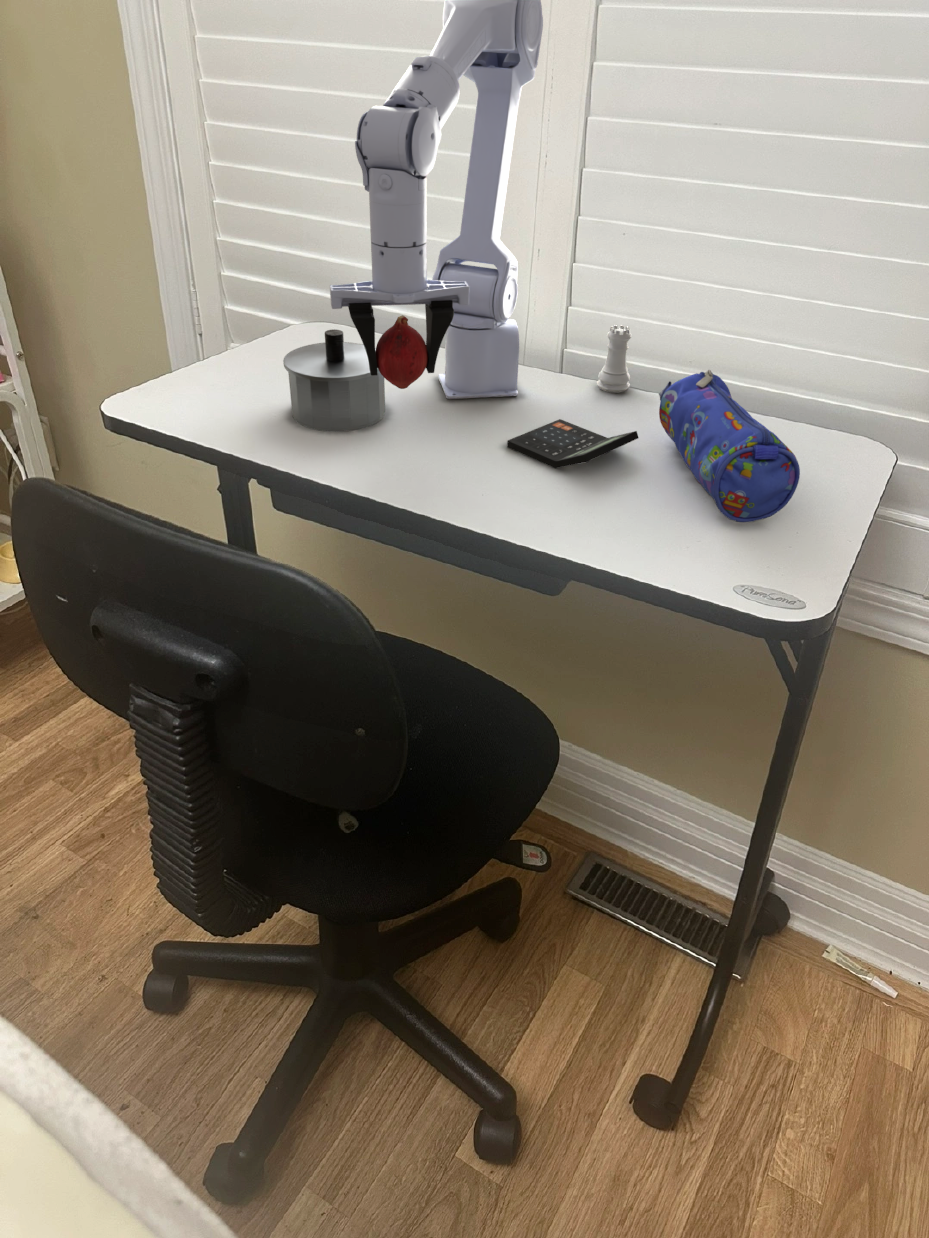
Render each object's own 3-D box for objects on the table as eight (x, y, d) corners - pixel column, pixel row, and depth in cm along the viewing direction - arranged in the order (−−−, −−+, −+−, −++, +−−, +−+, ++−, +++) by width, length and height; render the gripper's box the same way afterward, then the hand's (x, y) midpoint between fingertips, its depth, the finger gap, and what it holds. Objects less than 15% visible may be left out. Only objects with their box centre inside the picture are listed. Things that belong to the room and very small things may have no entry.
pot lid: (382, 348, 115) (381, 314, 112) (392, 384, 105) (391, 348, 102) (283, 352, 113) (280, 317, 110) (284, 388, 103) (280, 351, 101)
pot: (380, 394, 118) (378, 345, 114) (389, 429, 109) (387, 378, 105) (291, 397, 116) (287, 348, 112) (293, 434, 107) (288, 382, 103)
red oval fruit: (421, 400, 98) (420, 327, 94) (370, 395, 99) (367, 322, 94) (433, 382, 103) (433, 311, 98) (384, 377, 104) (382, 306, 99)
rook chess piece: (635, 385, 122) (643, 326, 117) (621, 396, 119) (629, 335, 114) (605, 378, 124) (611, 320, 119) (590, 388, 121) (597, 329, 116)
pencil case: (649, 439, 108) (661, 361, 102) (719, 437, 109) (734, 359, 103) (710, 530, 90) (728, 442, 85) (792, 527, 91) (816, 439, 85)
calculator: (559, 425, 111) (561, 402, 109) (635, 456, 104) (639, 432, 102) (507, 447, 105) (508, 423, 103) (584, 481, 99) (587, 456, 97)
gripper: (329, 252, 88) (337, 387, 95) (475, 249, 90) (472, 381, 98) (325, 235, 93) (333, 364, 101) (463, 233, 95) (461, 359, 103)
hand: (401, 371), depth 100 cm, fingers closed on red oval fruit, 6 cm apart
